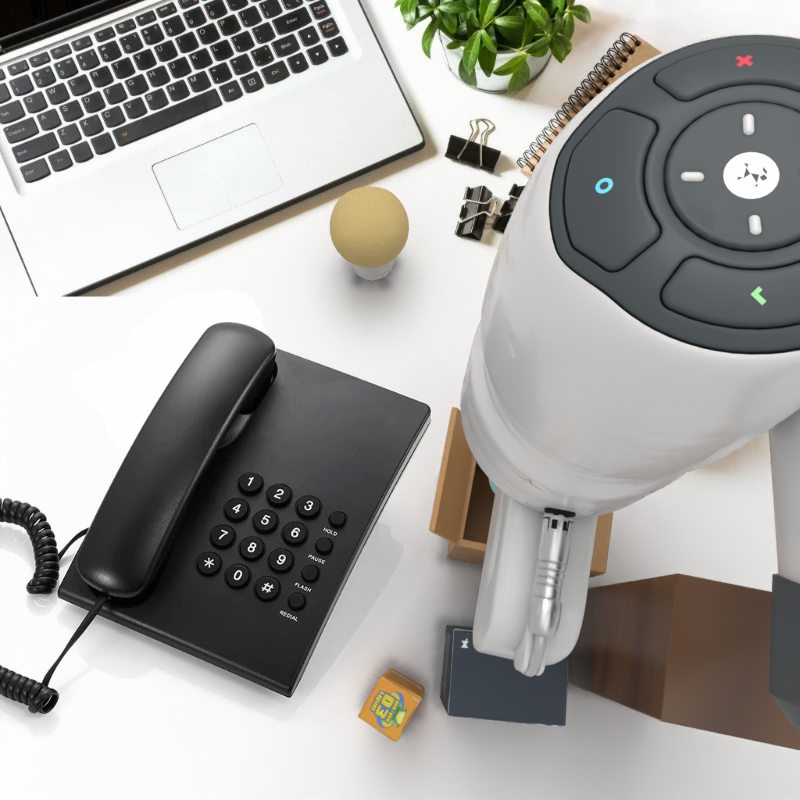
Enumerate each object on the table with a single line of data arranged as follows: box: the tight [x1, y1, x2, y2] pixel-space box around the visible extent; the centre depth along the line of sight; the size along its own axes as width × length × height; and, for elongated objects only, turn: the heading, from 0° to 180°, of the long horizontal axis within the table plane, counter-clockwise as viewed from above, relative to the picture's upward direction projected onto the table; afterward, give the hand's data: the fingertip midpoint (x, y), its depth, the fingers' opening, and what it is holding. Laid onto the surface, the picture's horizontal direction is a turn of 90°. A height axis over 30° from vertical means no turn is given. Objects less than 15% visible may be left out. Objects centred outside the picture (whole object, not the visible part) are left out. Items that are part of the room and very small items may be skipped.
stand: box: [568, 572, 800, 751], centre depth 51 cm, size 7×7×25 cm
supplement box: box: [357, 667, 425, 743], centre depth 57 cm, size 3×3×10 cm
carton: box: [446, 456, 614, 579], centre depth 59 cm, size 10×8×12 cm
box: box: [439, 624, 569, 728], centre depth 57 cm, size 8×6×11 cm
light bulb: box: [329, 185, 410, 281], centre depth 66 cm, size 6×6×10 cm
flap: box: [428, 406, 473, 544], centre depth 52 cm, size 5×8×1 cm
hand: (526, 464), depth 44 cm, fingers closed on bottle, 3 cm apart
